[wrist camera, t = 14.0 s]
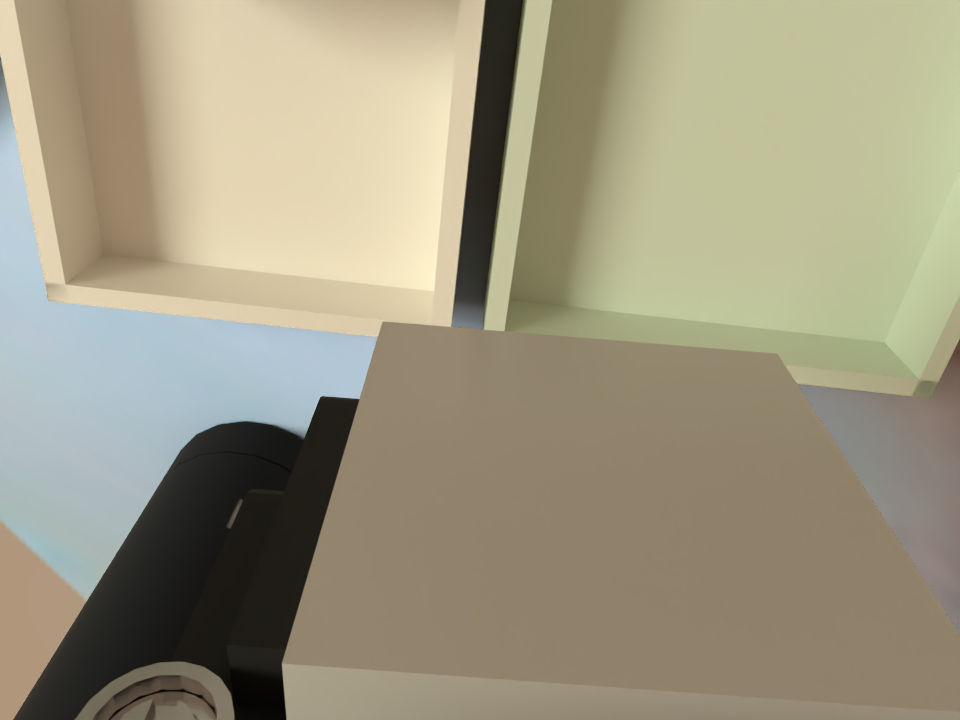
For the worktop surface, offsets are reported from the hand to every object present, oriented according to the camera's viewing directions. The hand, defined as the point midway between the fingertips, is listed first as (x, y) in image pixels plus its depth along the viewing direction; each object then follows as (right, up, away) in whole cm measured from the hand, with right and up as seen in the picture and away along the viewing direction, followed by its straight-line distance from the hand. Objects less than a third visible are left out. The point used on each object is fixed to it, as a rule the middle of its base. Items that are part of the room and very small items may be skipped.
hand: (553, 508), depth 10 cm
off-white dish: (-7, +11, +11) cm, 17 cm away
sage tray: (+7, +10, +11) cm, 17 cm away
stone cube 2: (0, 0, 0) cm, 0 cm away
